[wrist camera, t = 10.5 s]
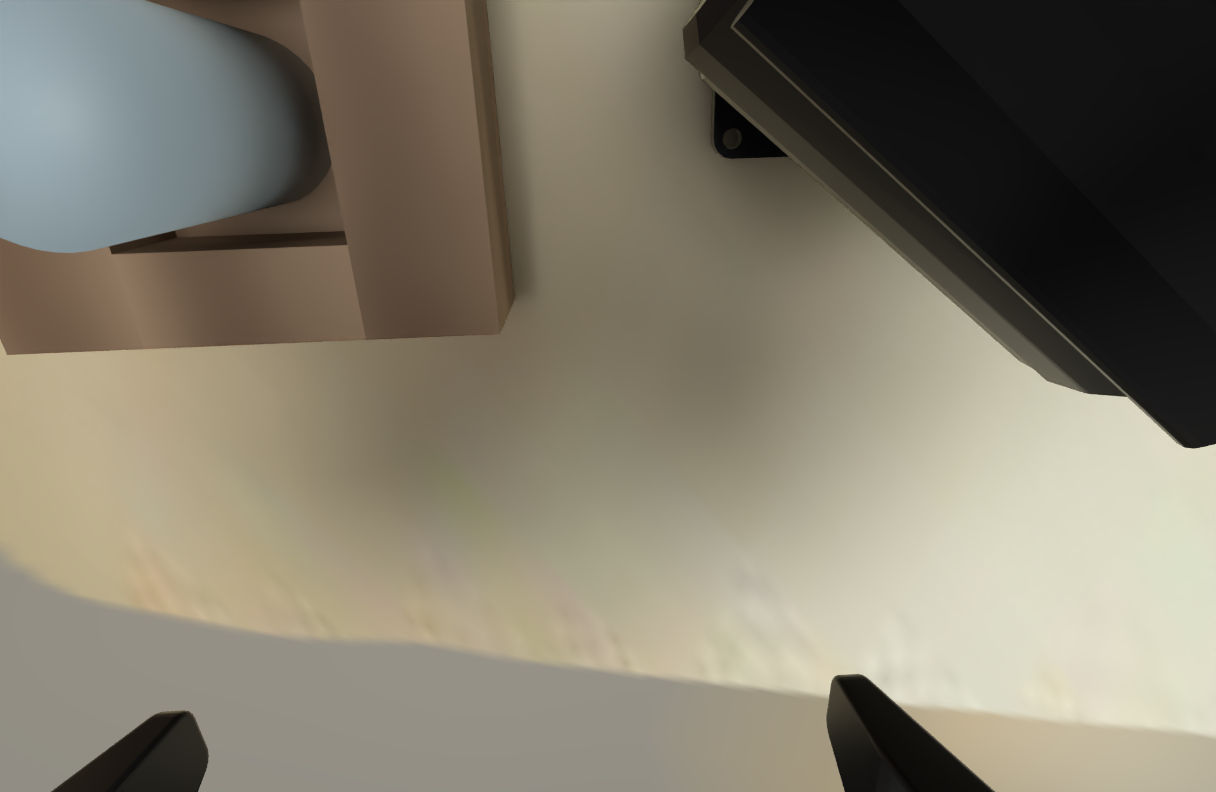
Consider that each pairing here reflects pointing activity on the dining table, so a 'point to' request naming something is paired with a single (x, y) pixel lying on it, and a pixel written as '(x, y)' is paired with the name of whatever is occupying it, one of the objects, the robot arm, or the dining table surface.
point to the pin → (145, 123)
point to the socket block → (316, 207)
